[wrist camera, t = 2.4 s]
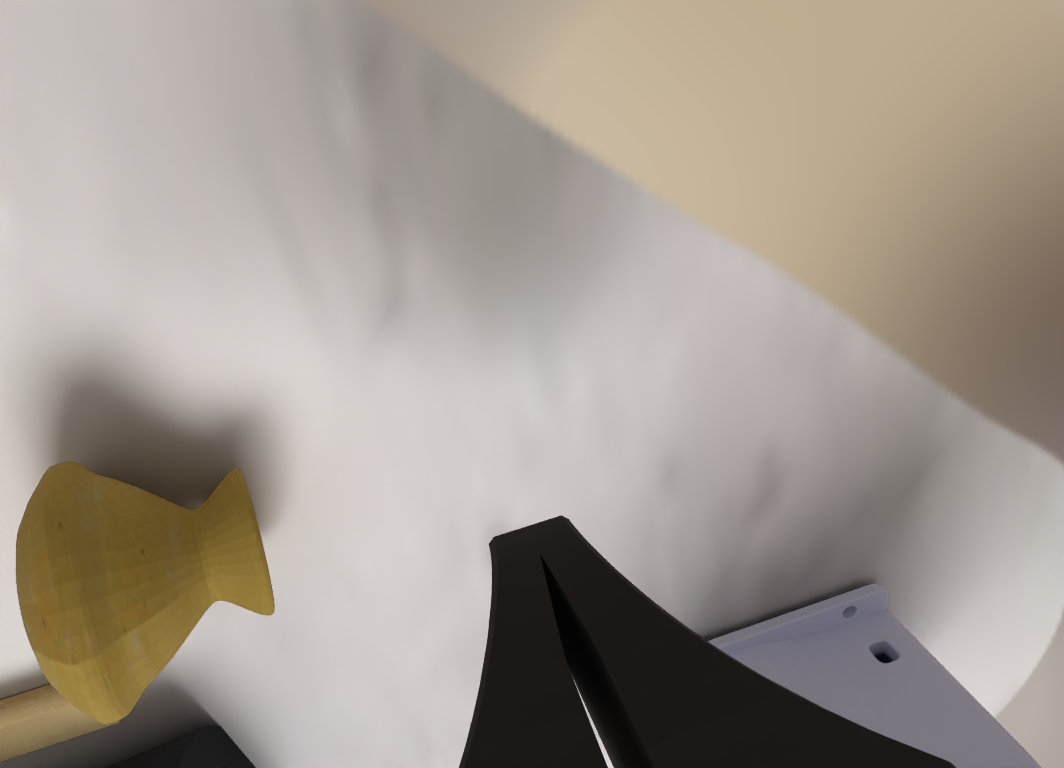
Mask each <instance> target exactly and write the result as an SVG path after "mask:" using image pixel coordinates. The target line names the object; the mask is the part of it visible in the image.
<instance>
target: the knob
mask: <svg viewBox="0 0 1064 768" xmlns="http://www.w3.org/2000/svg"><path fill="white" fill-rule="evenodd" d="M16 584H17V593H18V599H19V605H20V610H21V615H22V619H23V623H24V627H25V630H26V633H27V637H28V639H29V642H30V645H31V647H32V649H33V652H34V654H35V656H36V658H37V661H38V663H39V665H40V667H41V670H42V672H43V674H44V675H45V677H46V679H47V680H48V681H49V683H50V684H51V685H52V686H53V687H54V688H55V689H56V690H57V691H58V692H59V693H60V694H61V695H62V696H63V697H64V698H65V699H66V700H67V701H68V702H69V703H70V704H71V705H73V706H74V707H76V708H77V709H79V710H80V711H82V712H83V713H85V714H86V715H88V716H89V717H91V718H93V719H94V720H96V721H98V722H100V723H103V724H108V723H112V722H115V721H118V720H120V719H122V718H124V717H126V716H127V715H128V714H129V713H130V712H131V711H132V709H133V708H134V706H135V705H136V703H137V701H138V700H139V698H140V696H141V695H142V693H143V692H144V690H145V689H146V687H147V686H148V685H149V684H150V683H151V682H152V681H153V680H154V679H155V678H156V676H157V675H158V674H159V673H160V672H161V671H162V670H163V668H164V667H165V666H166V665H167V664H168V662H169V661H170V660H171V659H172V658H173V656H174V655H175V654H176V652H177V651H178V649H179V648H180V647H181V645H182V644H183V642H184V641H185V640H186V638H187V637H188V635H189V634H190V633H191V631H192V630H193V628H194V627H195V626H196V624H197V623H198V621H199V620H200V618H201V617H202V616H203V614H204V613H205V612H206V610H207V609H208V608H209V607H210V606H211V605H212V604H213V603H214V602H216V601H221V600H223V601H227V602H230V603H233V604H236V605H238V606H240V607H243V608H245V609H248V610H250V611H253V612H256V613H258V614H261V615H272V614H273V613H274V609H275V605H274V597H273V591H272V585H271V580H270V575H269V570H268V565H267V561H266V556H265V552H264V548H263V544H262V539H261V535H260V531H259V527H258V523H257V520H256V516H255V512H254V508H253V505H252V501H251V498H250V495H249V491H248V488H247V485H246V482H245V479H244V477H243V474H242V472H241V471H240V470H239V469H236V468H235V469H233V470H232V471H230V472H229V473H228V474H227V475H226V476H225V478H224V479H223V480H222V481H221V482H220V484H219V485H218V486H217V487H216V489H215V490H214V491H213V493H212V494H211V495H210V497H209V498H208V499H207V500H206V501H205V502H204V503H203V505H202V506H201V507H199V508H197V509H187V508H184V507H181V506H179V505H176V504H174V503H172V502H170V501H167V500H165V499H163V498H161V497H159V496H156V495H154V494H152V493H149V492H147V491H145V490H143V489H140V488H138V487H136V486H133V485H130V484H127V483H124V482H122V481H119V480H115V479H112V478H108V477H105V476H101V475H98V474H96V473H94V472H92V471H90V470H89V469H87V468H85V467H83V466H81V465H79V464H77V463H73V462H66V463H61V464H57V465H54V466H52V467H49V469H48V470H47V471H46V472H45V474H44V475H43V477H42V479H41V480H40V482H39V484H38V486H37V487H36V489H35V491H34V493H33V495H32V496H31V498H30V500H29V502H28V505H27V507H26V510H25V513H24V515H23V518H22V521H21V523H20V526H19V529H18V533H17V541H16Z"/></svg>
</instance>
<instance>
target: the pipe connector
mask: <svg viewBox="0 0 1064 768" xmlns="http://www.w3.org/2000/svg"><path fill="white" fill-rule="evenodd" d="M110 768H255V766H254V765H253V764H252V763H251V762H250V761H249V759H248V758H247V757H246V756H245V755H244V753H243V752H242V751H241V750H240V749H239V748H238V746H237V745H236V744H235V743H234V742H233V740H232V739H231V738H230V737H229V736H228V734H227V733H226V732H225V731H224V730H223V729H222V727H220V726H211V727H206V728H204V729H202V730H199V731H197V732H194V733H192V734H189V735H187V736H185V737H182V738H180V739H177V740H175V741H173V742H170V743H168V744H165V745H163V746H161V747H158V748H156V749H153V750H151V751H148V752H146V753H144V754H141V755H139V756H136V757H134V758H132V759H129V760H127V761H124V762H122V763H120V764H117V765H115V766H112V767H110Z"/></svg>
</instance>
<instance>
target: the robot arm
mask: <svg viewBox="0 0 1064 768" xmlns="http://www.w3.org/2000/svg"><path fill="white" fill-rule="evenodd" d="M489 547H490V552H491V561H492V597H491V609H490V619H489V630H488V638H487V645H486V651H485V657H484V663H483V669H482V675H481V681H480V687H479V691H478V696H477V701H476V705H475V710H474V714H473V718H472V722H471V726H470V730H469V734H468V738H467V742H466V746H465V749H464V752H463V756H462V759H461V763H460V766H459V768H608V767H607V764H606V762H605V759H604V757H603V754H602V752H601V749H600V747H599V744H598V742H597V739H596V737H595V734H594V731H593V729H592V726H591V724H590V721H589V719H588V716H587V714H586V711H585V709H584V706H583V703H582V701H581V698H580V696H579V693H578V690H579V692H580V694H581V696H582V699H583V701H584V703H585V705H586V707H587V710H588V712H589V714H590V716H591V718H592V721H593V723H594V725H595V727H596V729H597V731H598V734H599V736H600V738H601V740H602V742H603V745H604V747H605V749H606V751H607V753H608V756H609V758H610V760H611V762H612V764H613V767H614V768H1041V767H1040V765H1039V764H1038V763H1037V762H1036V761H1035V760H1034V759H1033V758H1032V757H1031V755H1029V753H1028V752H1027V751H1026V750H1025V749H1024V748H1023V747H1022V746H1021V745H1020V744H1019V743H1018V742H1017V741H1016V740H1015V739H1014V738H1013V737H1012V736H1011V735H1010V734H1009V733H1008V732H1007V731H1006V730H1005V729H1004V728H1003V727H1002V726H1001V725H1000V723H998V722H997V721H996V719H995V718H994V717H993V716H992V715H991V714H990V713H989V712H988V711H987V710H986V709H985V708H984V707H983V706H982V705H981V704H980V703H979V702H978V701H977V700H976V699H975V698H974V697H973V696H972V695H971V694H970V693H969V692H968V691H967V690H966V689H965V688H964V687H963V686H962V685H961V684H960V683H959V682H958V681H957V680H956V679H955V678H954V677H953V676H952V675H951V674H950V673H949V672H948V671H947V670H946V669H945V668H944V667H943V666H942V665H941V664H940V663H939V662H938V660H937V659H936V658H935V657H934V656H933V655H932V654H931V653H930V652H929V651H928V650H927V649H926V648H925V647H924V646H923V645H922V644H921V643H920V642H919V641H918V640H917V639H916V638H915V637H914V636H913V635H912V634H911V633H910V632H909V631H908V630H907V629H906V628H905V627H904V626H903V625H902V624H901V623H900V622H899V621H898V620H897V619H896V618H895V617H894V616H893V615H892V614H891V613H890V612H889V611H888V602H889V595H888V592H887V591H886V590H885V589H884V588H883V587H881V586H880V585H879V584H869V585H866V586H863V587H861V588H858V589H855V590H852V591H849V592H846V593H843V594H841V595H838V596H835V597H832V598H829V599H826V600H823V601H820V602H818V603H815V604H812V605H809V606H806V607H803V608H800V609H798V610H795V611H792V612H789V613H786V614H783V615H780V616H778V617H775V618H772V619H769V620H766V621H763V622H760V623H757V624H755V625H752V626H749V627H746V628H743V629H740V630H737V631H735V632H732V633H729V634H726V635H723V636H720V637H717V638H714V639H712V640H709V641H706V640H705V639H703V638H702V637H700V636H699V635H697V634H696V633H695V632H693V631H692V630H690V629H689V628H688V627H686V626H685V625H683V624H682V623H681V622H679V621H678V620H677V619H675V618H674V617H673V616H671V615H670V614H669V613H668V612H666V611H665V610H664V609H662V608H661V607H660V606H658V605H657V604H656V603H655V602H653V601H652V600H651V599H650V598H649V597H647V596H646V595H645V594H644V593H642V592H641V591H640V590H639V589H638V588H637V587H636V586H634V585H633V584H632V583H631V582H630V581H629V580H628V579H626V578H625V577H624V576H623V575H622V574H621V573H620V572H618V571H617V570H616V569H615V568H614V567H613V566H612V565H611V564H610V563H609V562H608V561H607V560H606V559H605V558H604V557H603V556H602V555H601V554H600V553H599V552H598V551H597V550H596V549H595V548H594V547H593V546H592V545H591V544H590V543H589V542H588V541H587V540H586V539H585V538H584V537H583V536H582V535H581V534H580V532H579V531H578V530H577V529H576V528H575V527H574V525H573V524H572V523H571V522H570V520H569V519H567V518H565V517H563V516H558V517H555V518H552V519H549V520H546V521H543V522H539V523H536V524H533V525H530V526H527V527H524V528H521V529H517V530H514V531H511V532H508V533H505V534H502V535H498V536H495V537H494V538H493V539H492V540H491V542H490V543H489ZM571 674H572V675H571ZM573 679H574V680H573ZM574 681H575V682H574ZM575 683H576V685H577V688H578V690H577V688H576V685H575Z"/></svg>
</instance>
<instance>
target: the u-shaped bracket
mask: <svg viewBox="0 0 1064 768" xmlns="http://www.w3.org/2000/svg"><path fill="white" fill-rule="evenodd" d="M120 721H121V719H120V720H118V721H115V722H112V723H108V724H103V723H100V722H98V721H96V720H94V719H93V718H91V717H89V716H88V715H86V714H85V713H83V712H82V711H80V710H79V709H77V708H76V707H74V706H73V705H71V704H70V703H69V702H68V701H67V700H66V699H65V698H64V697H63V696H62V695H61V694H60V693H59V692H58V691H57V690H56V689H55V688H54V687H53V686H52V685H51V684H49V685H46V686H43V687H40V688H37V689H34V690H30V691H27V692H24V693H21V694H18V695H15V696H11V697H8V698H5V699H2V700H0V762H2V761H5V760H8V759H11V758H14V757H17V756H20V755H23V754H26V753H29V752H32V751H35V750H38V749H41V748H44V747H47V746H50V745H53V744H57V743H60V742H63V741H66V740H69V739H72V738H75V737H78V736H81V735H84V734H87V733H90V732H93V731H96V730H99V729H102V728H105V727H108V726H112V725H115V724H118V723H120Z"/></svg>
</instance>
